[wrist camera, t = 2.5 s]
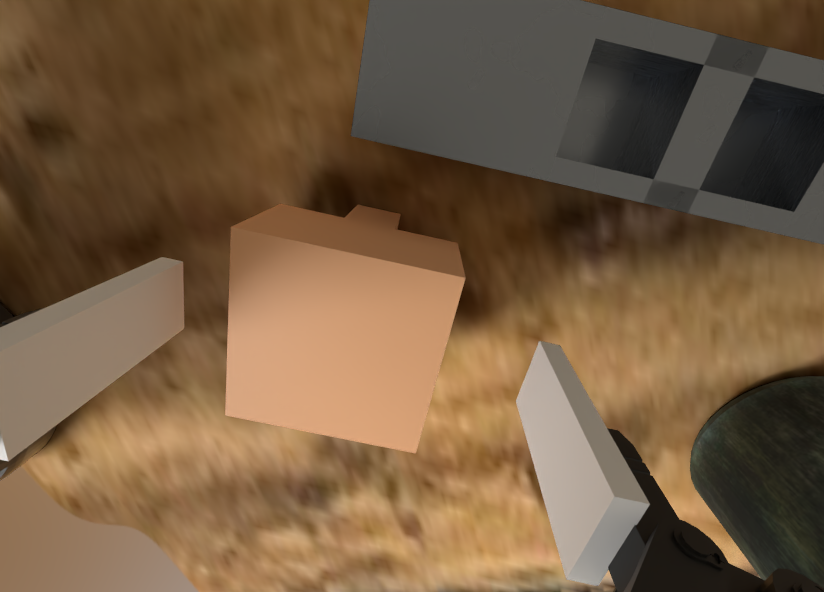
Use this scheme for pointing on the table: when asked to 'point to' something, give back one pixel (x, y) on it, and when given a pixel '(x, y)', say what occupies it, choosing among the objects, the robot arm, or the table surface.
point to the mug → (768, 474)
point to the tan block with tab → (338, 323)
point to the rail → (601, 105)
